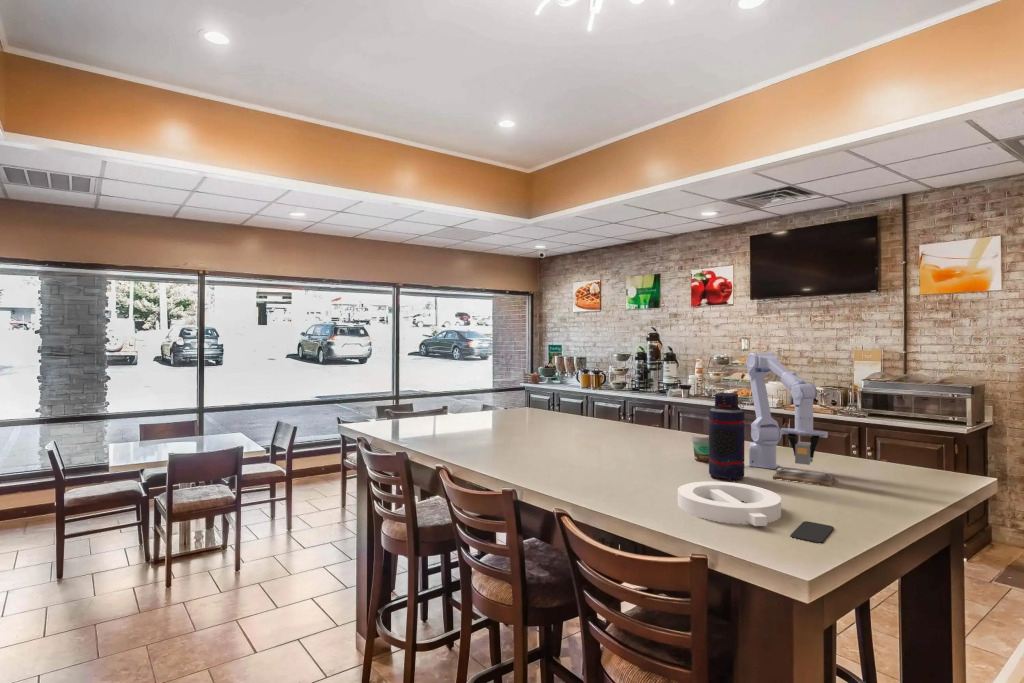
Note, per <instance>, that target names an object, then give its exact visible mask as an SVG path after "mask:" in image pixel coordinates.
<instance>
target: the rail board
mask: <svg viewBox="0 0 1024 683" xmlns="http://www.w3.org/2000/svg"><path fill="white" fill-rule="evenodd" d="M776 479H782V480H781V481H784V480H790V481H789V482H791V481H798V482H797V483H799V482H805V483H804V484H807V483H812V484H811V485H814V484H819V485H818V486H822V485H825V486H824V487H830V486H831V487H832V486H833V484H834V482H835V479H836V478H835V476H833V474H830V473H823V472H815V471H805V470H797V469H790V468H789V469H787V468H783V467H782V468H781V467H777V468H776V473H775V474H773V476H772V480H776Z"/></svg>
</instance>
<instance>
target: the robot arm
mask: <svg viewBox="0 0 1024 683" xmlns="http://www.w3.org/2000/svg"><path fill="white" fill-rule="evenodd" d="M745 359H746V360H745V364H746V370H747V375H748V376H749V382H750V389H751V394H752V395H751V396H752V400H753V406H754V412H755V418H756V419H755V420H754V421H753V422H752V423H751V424H750V428H751V429H750V437H751V439H752V441H753V442H750V443H749V449H748V451H749V452H748V454H749V455H748V459H749V462H748V463H749V464H748V467H755V468H761V469H763V468H764V469H770V470H777V469H778V468H779V466H780V464H779V463H777V445H778V444H779V442H780V441H781V439H782V435H787V439H788V440H789V443H790V444H791V447H792V450H793V455H794V457H795V444H797V443H798V437H799V436H801V437H802V436H803V437H810V443H811V458H813V459H814V457H815V455H814V454H815V451H816V449H817V448H816V447H817V445H818V443H819V442H820V439H821V438H824V439H828V436H829V432H828V431H823V430H816V429H814V400H815V399H816V397H817V395H818V389H817V386H816V385H815V384H814V383H812V382H806V381H805V379H803V378H802V377H800V376H799V375H798V373H797V372H796V371H793V370H788V369H787V368H786V367H785V366H784V365H783V364H782V363H781V361H779V356H777V355H776V353H775V352H750V353H749V354H748V355H747V357H746V358H745ZM771 372H773V373H774V374H776V375H777V376H778V377H779V378H780V382H781V383H782V385H784V386H785V387H786V389H788V390H789V391H790V395H791V397H792V403H793V405H794V428H790V427H789V428H788V427H786V428H785V427H781V428H780V427H779V422H778V421H777V420H775V419H774V418H773V417H772V413H771V408H770V402H769V396H768V391H767V387H766V381H765V378H766V376H767V375H769V374H770V373H771Z"/></svg>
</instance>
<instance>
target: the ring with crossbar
mask: <svg viewBox="0 0 1024 683" xmlns="http://www.w3.org/2000/svg"><path fill="white" fill-rule="evenodd" d="M741 501H744V502H741ZM745 502H747V503H745ZM678 506H679V507H680V508H681V509H682V510H684V511H685V512H687V513H689V514H692V515H694V516H693V517H695V516H697V517H696V518H698V517H701V518H704V519H703V520H705V519H709V520H708V521H710V520H713V521H712V522H715V521H719V522H718V523H721V522H726V523H725V524H730V523H738V524H737V525H740V524H739V523H742V524H741V525H752V526H754V527H761V526H763V527H767V526H768V522H769V523H773V522H775V520H776V521H778V520H779V519H780V518H781V516H782V497H781V496H780V495H779V494H777V492H776V493H775V492H774V491H771V490H769V489H765V488H763V487H760V486H759V487H758V486H754V485H752V484H751V485H750V484H746V483H738V482H737V483H736V482H732V481H730V482H728V481H696V482H690V483H685V484H682V485H680V486H679V487H678V488H677V507H678ZM679 507H678V508H679ZM680 508H679V509H680ZM681 509H680V510H681ZM682 510H681V511H682ZM685 512H684V513H685ZM687 513H686V514H687ZM689 514H688V515H689ZM692 515H691V516H692ZM701 518H700V519H701ZM777 519H778V520H777ZM772 521H773V522H772Z"/></svg>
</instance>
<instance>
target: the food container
mask: <svg viewBox="0 0 1024 683" xmlns="http://www.w3.org/2000/svg"><path fill="white" fill-rule="evenodd" d="M690 441H691V442H692V448H693V454H694V461H695V460H696V462H697V463H702V462H703V464H709V460H710V459H709V436H705V437H699V436H694V435H691V438H690Z"/></svg>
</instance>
